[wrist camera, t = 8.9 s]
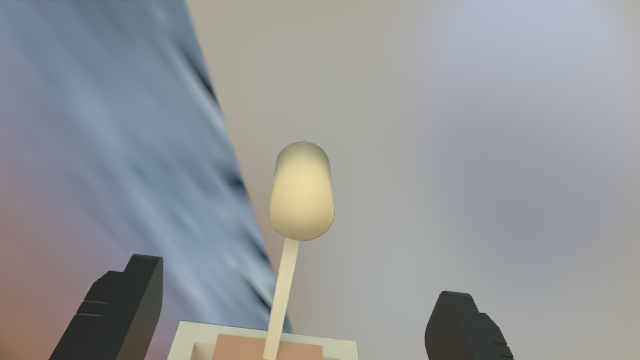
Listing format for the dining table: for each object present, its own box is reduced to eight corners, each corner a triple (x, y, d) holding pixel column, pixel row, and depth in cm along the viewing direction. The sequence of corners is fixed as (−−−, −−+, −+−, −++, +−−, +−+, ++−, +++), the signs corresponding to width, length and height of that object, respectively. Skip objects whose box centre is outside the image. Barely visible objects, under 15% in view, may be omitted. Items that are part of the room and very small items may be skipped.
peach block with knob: (244, 131, 21) (222, 194, 16) (368, 152, 22) (389, 219, 16) (214, 378, 29) (193, 477, 23) (307, 388, 29) (307, 486, 24)
